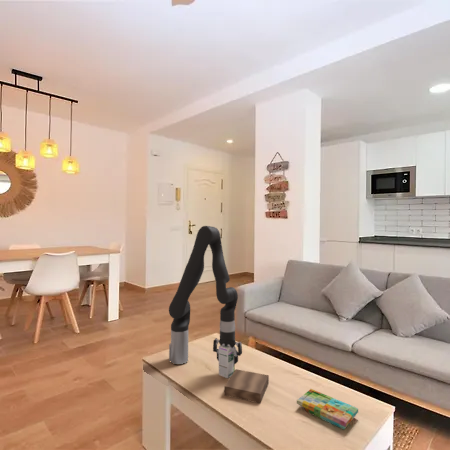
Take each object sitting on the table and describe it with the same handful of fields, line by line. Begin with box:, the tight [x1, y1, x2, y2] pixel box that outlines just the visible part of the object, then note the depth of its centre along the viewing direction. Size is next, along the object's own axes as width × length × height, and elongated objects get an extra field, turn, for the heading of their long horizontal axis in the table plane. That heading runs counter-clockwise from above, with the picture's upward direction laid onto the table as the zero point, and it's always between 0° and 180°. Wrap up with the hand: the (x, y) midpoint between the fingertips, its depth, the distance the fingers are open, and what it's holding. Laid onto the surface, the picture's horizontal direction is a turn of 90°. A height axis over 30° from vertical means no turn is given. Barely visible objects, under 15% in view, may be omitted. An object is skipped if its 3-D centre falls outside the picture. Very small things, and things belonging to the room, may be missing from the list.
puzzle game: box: [296, 388, 359, 430], centre depth 122 cm, size 12×5×20 cm
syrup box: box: [218, 344, 236, 379], centre depth 151 cm, size 6×6×14 cm
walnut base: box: [223, 368, 270, 404], centre depth 138 cm, size 16×16×4 cm
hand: (227, 361), depth 151 cm, fingers open, 8 cm apart
